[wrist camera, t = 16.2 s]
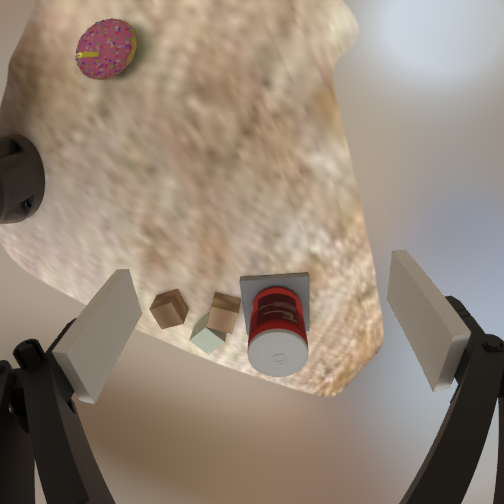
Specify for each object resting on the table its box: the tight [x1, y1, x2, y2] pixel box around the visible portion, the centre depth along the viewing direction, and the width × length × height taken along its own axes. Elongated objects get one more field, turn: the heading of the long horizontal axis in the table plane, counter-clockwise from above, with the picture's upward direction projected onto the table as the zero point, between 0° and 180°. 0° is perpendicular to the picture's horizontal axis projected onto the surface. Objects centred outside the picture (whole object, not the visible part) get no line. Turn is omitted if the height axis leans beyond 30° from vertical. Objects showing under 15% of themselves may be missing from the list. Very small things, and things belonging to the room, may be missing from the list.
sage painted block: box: [189, 313, 227, 355], centre depth 51 cm, size 4×4×4 cm
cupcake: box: [75, 19, 137, 80], centre depth 29 cm, size 9×8×12 cm
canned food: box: [247, 287, 308, 377], centre depth 44 cm, size 8×8×11 cm
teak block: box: [206, 292, 240, 334], centre depth 49 cm, size 4×4×4 cm
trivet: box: [240, 273, 309, 335], centre depth 49 cm, size 10×10×1 cm
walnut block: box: [150, 289, 189, 329], centre depth 49 cm, size 4×4×4 cm
